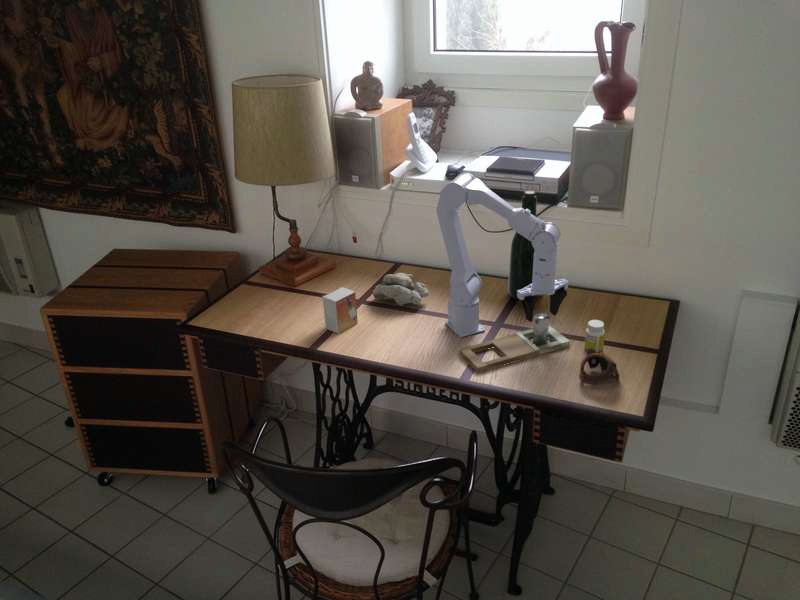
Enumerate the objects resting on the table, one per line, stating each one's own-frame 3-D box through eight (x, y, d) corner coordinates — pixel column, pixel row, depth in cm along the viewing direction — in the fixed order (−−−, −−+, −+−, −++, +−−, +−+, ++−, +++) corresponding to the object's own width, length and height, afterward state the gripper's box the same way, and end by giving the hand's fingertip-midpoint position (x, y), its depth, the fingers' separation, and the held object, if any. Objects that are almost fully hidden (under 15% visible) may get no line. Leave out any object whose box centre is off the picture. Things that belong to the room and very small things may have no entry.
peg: (529, 341, 186) (531, 315, 182) (542, 337, 187) (543, 312, 183) (537, 348, 182) (539, 322, 179) (550, 344, 184) (552, 318, 180)
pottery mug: (628, 387, 166) (621, 369, 160) (593, 404, 167) (585, 387, 162) (606, 352, 174) (598, 334, 169) (572, 368, 176) (564, 351, 170)
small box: (338, 334, 193) (335, 302, 188) (325, 328, 197) (321, 296, 192) (358, 323, 198) (355, 291, 193) (345, 317, 202) (342, 286, 197)
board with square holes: (459, 353, 181) (459, 348, 181) (547, 329, 191) (548, 323, 190) (477, 372, 173) (477, 367, 172) (569, 345, 183) (569, 340, 182)
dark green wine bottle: (526, 283, 216) (531, 183, 201) (549, 295, 208) (556, 192, 193) (500, 292, 212) (503, 190, 196) (523, 305, 204) (527, 200, 188)
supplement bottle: (599, 345, 182) (602, 318, 178) (605, 355, 178) (608, 327, 174) (581, 346, 182) (584, 319, 178) (586, 356, 178) (589, 328, 174)
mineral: (422, 309, 200) (427, 275, 199) (366, 301, 203) (371, 267, 203) (430, 309, 212) (435, 277, 211) (377, 301, 215) (381, 270, 215)
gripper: (528, 282, 169) (526, 330, 175) (577, 270, 174) (572, 317, 180) (513, 272, 175) (511, 318, 181) (560, 260, 180) (557, 305, 186)
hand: (541, 316), depth 181 cm, fingers open, 7 cm apart
